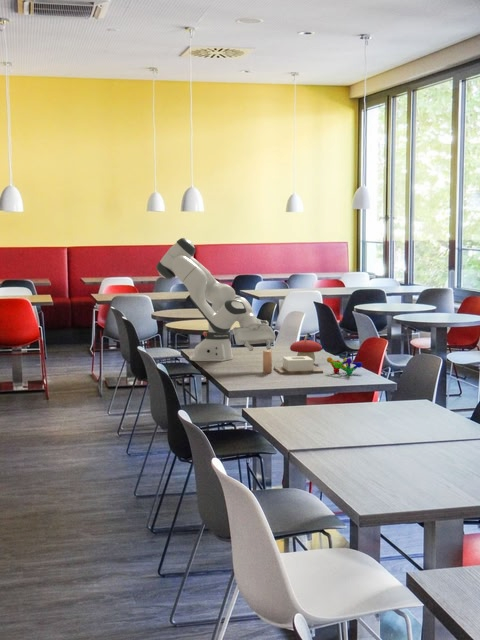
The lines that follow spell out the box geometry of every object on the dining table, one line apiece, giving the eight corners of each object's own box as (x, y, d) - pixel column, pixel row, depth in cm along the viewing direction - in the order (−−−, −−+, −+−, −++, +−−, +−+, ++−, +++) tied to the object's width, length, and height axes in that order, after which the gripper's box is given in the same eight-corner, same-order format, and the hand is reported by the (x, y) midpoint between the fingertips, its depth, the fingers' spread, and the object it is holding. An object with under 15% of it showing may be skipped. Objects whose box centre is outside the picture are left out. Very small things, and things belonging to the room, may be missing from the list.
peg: (263, 373, 392) (263, 351, 391) (262, 372, 396) (262, 350, 395) (272, 373, 393) (272, 351, 392) (270, 371, 397) (270, 350, 396)
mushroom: (323, 365, 414) (323, 335, 413) (290, 365, 414) (290, 335, 413) (320, 361, 430) (320, 331, 428) (289, 361, 430) (289, 331, 429)
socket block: (288, 371, 392) (288, 360, 392) (282, 367, 404) (282, 356, 403) (313, 370, 394) (313, 359, 393) (307, 366, 406) (307, 356, 405)
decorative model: (342, 361, 400) (365, 356, 389) (342, 380, 398) (366, 375, 386) (322, 357, 392) (345, 352, 381) (322, 376, 390) (345, 371, 379)
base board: (280, 374, 390) (280, 372, 390) (273, 368, 405) (273, 366, 405) (323, 372, 393) (323, 370, 393) (314, 367, 408) (314, 365, 408)
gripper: (233, 323, 398) (243, 346, 391) (270, 321, 408) (281, 343, 400) (228, 332, 403) (238, 355, 395) (266, 329, 412) (276, 352, 405)
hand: (260, 349), depth 398 cm, fingers open, 8 cm apart
